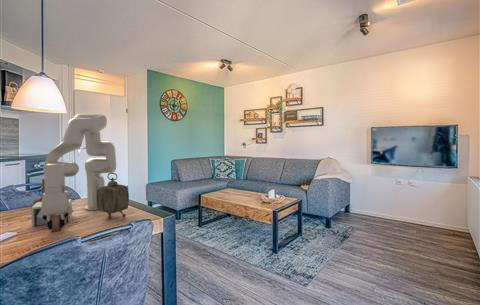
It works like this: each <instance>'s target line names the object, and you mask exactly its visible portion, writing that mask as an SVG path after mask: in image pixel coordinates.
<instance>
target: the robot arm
mask: <svg viewBox="0 0 480 305" xmlns="http://www.w3.org/2000/svg"><path fill="white" fill-rule="evenodd" d="M108 122H109V121H108V118H107V116H106V115H105V114H103V113H78V114H76V115H74V117H73V118H71V119H69V121H68V122H67V126H66V128H65V132H64V135H63V138H62V141H61V142H60V143H59V144H58V145H56V146H55V147H54V148H52V150H50V151H49V152H48V154H47V155H46V157H45V161H44V164H43V168H42V169H43V175H44V178H43V179H44V181H45V193H43V197H42V196H41V197H42V207H41V211H40V212H39V214H38V215H37V217H40V218H43V219H44V220H46V221H47V224H46V226H47V229H48V230H49V231H52V225H51V215H53V214H60V215H61V220H60V228H61V229H63V228H64V226H65V224H66V223H64V219H65V218H66V217H67V218H68V215H69V214H71V213H72V214H73V213H74V209H73V208H72V209H71V207H70V206H69V199H70V198H69V194H68V191H66V190H69V187H70V186H68V185H67V186H66V182H65V181H66V180H65V178H70V177H71V178H72V177H75V176H76V175H78V173H79V171H80V168H79V165H78V163H76V162H74V161H59V160H60V159H61V157H63V156H64V155H67V154H69V153H71V152H74V151H76V150H78V149H81V147H82V145H83V140H84V142H85V149H86V154H87V155H88V156H90V157H93V158H88V159H87V160H86V161H85V162H84V169H85V173H86V187H87V188H86V191H87V193H86V194H87V205H85V206H84V210H86V211H99V210H98V208H97V190H98V189H99V188H100V187H103V186H106V185H105V182H106V181H105V179H104V178H105V177H104V176H103V175H102V174H109V173H115V171H116V170H117V156H116V155H117V154H116V147H115V145H114V143H113V142H112V141H104V140H102V135H101V132H100V131H102V130H104V129H106V127H107V126H108ZM96 157H97V158H96ZM99 157H100V158H99ZM101 157H104V158H101ZM68 211H69V212H68ZM66 212H67V213H66ZM65 213H66V214H65ZM46 215H47V216H46Z"/></svg>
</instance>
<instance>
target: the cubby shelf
mask: <svg viewBox="0 0 480 305" xmlns="http://www.w3.org/2000/svg"><path fill="white" fill-rule="evenodd" d="M72 204H73V203H72V199H71V198H69V206H70V207H71V209H72V210H73V205H72ZM41 207H42V202H37V203H36V204H35V205H34V204H33V205H32V207H31V227H32V228H33V227H35V226H36V225H37V214H38V213H39V212H40V211H41ZM68 212H69V211H68ZM53 215H54V214H53ZM51 216H52V215H51ZM72 216H73V213H71V214H69V215H68V216H67V222H71V219H72Z"/></svg>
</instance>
